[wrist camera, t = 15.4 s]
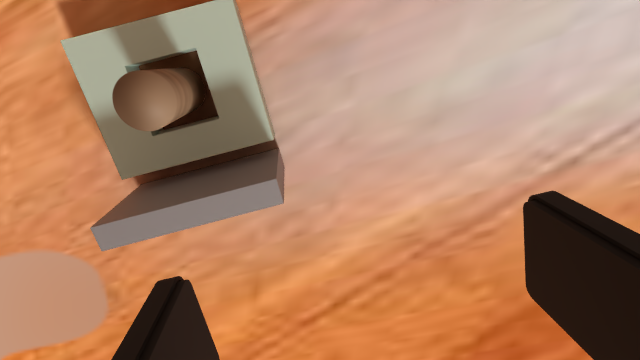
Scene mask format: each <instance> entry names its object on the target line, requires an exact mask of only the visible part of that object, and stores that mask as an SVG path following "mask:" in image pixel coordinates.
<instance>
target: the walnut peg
mask: <svg viewBox="0 0 640 360" xmlns="http://www.w3.org/2000/svg"><path fill="white" fill-rule="evenodd" d="M205 94H206V90H205V85H204V83H203V81H202V79H201V78H200V76H199V75H198V74H197V73H195V72H194V71H192V70H190V69H187V68H166V69H151V70H136V71H131V72H128V73H126V74H124V75H123V76H122V77H121V78H120V79H119V80H118V81H117V82H116V84H115V86H114V89H113V94H112V100H113V105H114V108H115V111H116V113H117V114H118V116H119V117H120V118H121V119H122V120H123V121H124V122H125V123H126V124H127V125H129V126H130V127H132V128H134V129H137V130H140V131H155V130H158V129H160V128H162V127H164V126H166V125H168V124H170V123H172V122H173V121H175V120H177V119H179V118H181V117H183V116H185V115H186V114H188V113H190V112H192V111H194V110H196V109H197V108H199V107H200V106H201V104H202V103H203V101H204V99H205Z"/></svg>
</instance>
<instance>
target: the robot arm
mask: <svg viewBox="0 0 640 360" xmlns="http://www.w3.org/2000/svg"><path fill="white" fill-rule="evenodd" d="M523 216H524V245H525V275H526V288H527V291H528V293H529V295H530V296H531V297H532V299H533V300H534V301H535V302H536V303H537V304H538V305H539V306H540V307H541V308H542V309H543V310H544V311H545V312H546V313H547V314H548V315H549V316H550V317H551V318H552V319H553V320H554V321H555V322H556V323H557V324H558V325H559V326H560V327H561V328H562V329H563V330H564V331H565V332H566V333H567V334H568V335H569V336H570V337H571V338H572V339H573V340H574V341H576V342H577V343H578V344H579V345H580V346H581V347H582V348H583V349H584V350H585V351H586V352H587V353H588V354H589V355H590V356H591V357H592V358H593V359H594V360H640V234H638V233H636V232H634V231H632V230H630V229H628V228H627V227H625V226H623V225H621V224H619V223H617V222H615V221H613V220H611V219H609V218H607V217H605V216H603V215H601V214H599V213H597V212H595V211H593V210H591V209H589V208H587V207H585V206H583V205H581V204H579V203H577V202H575V201H574V200H572V199H570V198H568V197H566V196H564V195H562V194H560V193H558V192H556V191H549V192H545V193H540V194H536V195H532V196H530V197H529V199H528V202H525V203H524V206H523ZM112 360H220V359H219V355H218V352H217V350H216V347H215V345H214V342H213V339H212V337H211V334H210V331H209V329H208V326H207V324H206V321H205V318H204V316H203V313H202V311H201V308H200V305H199V303H198V300H197V298H196V295H195V292H194V290H193V287H192V285H191V282H190V281H189V280H183V278H182V277H180V276H177V277H173V278H169V279H164V280H160V281H158V282H157V283H156V284H155V286H154V288H153V289H152V291H151V293H150V294H149V296H148V298H147V300H146V301H145V303H144V305H143V306H142V308H141V310H140V312H139V313H138V315H137V317H136V318H135V320H134V322H133V324H132V325H131V327H130V329H129V331H128V332H127V334H126V336H125V337H124V339H123V341H122V343H121V344H120V346H119V348H118V349H117V351H116V353H115V355H114V356H113V358H112Z"/></svg>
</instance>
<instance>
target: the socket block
mask: <svg viewBox="0 0 640 360" xmlns="http://www.w3.org/2000/svg"><path fill="white" fill-rule="evenodd" d="M61 43H62V46H63V48H64V50H65V52H66V55H67V57H68V59H69V61H70V64H71V66H72V68H73V70H74V73H75V75H76V77H77V79H78V82H79V84H80V86H81V88H82V91H83V93H84V95H85V97H86V100H87V102H88V104H89V106H90V109H91V111H92V113H93V115H94V118H95V120H96V122H97V124H98V127H99V129H100V131H101V133H102V136H103V138H104V140H105V143H106V145H107V147H108V149H109V152H110V154H111V156H112V158H113V161H114V163H115V165H116V167H117V170H118V172H119V174H120V176H121V179H122V180H123V179H127V178H131V177H135V176H138V175H142V174H146V173H150V172H154V171H157V170H161V169H165V168H169V167H173V166H176V165H180V164H184V163H188V162H192V161H195V160H199V159H203V158H207V157H211V156H214V155H218V154H222V153H226V152H230V151H233V150H237V149H241V148H245V147H249V146H252V145H256V144H260V143H264V142H268V141H271V140H274V135H275V133H274V129H273V126H272V123H271V119H270V116H269V112H268V109H267V105H266V102H265V99H264V95H263V92H262V88H261V85H260V81H259V78H258V75H257V71H256V68H255V64H254V61H253V57H252V54H251V50H250V47H249V44H248V40H247V37H246V33H245V30H244V26H243V23H242V20H241V16H240V13H239V9H238V6H237V2H236V1H235V0H214V1H210V2H206V3H203V4H199V5H195V6H191V7H187V8H183V9H180V10H176V11H172V12H168V13H164V14H160V15H157V16H153V17H149V18H145V19H141V20H138V21H134V22H130V23H126V24H122V25H118V26H115V27H111V28H107V29H103V30H99V31H95V32H92V33H88V34H84V35H80V36H76V37H72V38H69V39H65V40H61ZM193 51H197V53H198V56H199V59H200V62H201V65H202V68H203V71H204V74H205V77H206V80H207V83H208V86H209V89H210V92H211V95H212V98H213V101H214V104H215V107H216V110H217V113H218V116H216V117H212V118H208V119H204V120H200V121H197V122H193V123H189V124H185V125H181V126H178V127H174V128H170V129H166V130H163V128H160V129H158V130H155V131H140V130H137V129H134V128H132V127H130V126H129V125H127V124H126V123H125V122H124V121H123V120H122V119H121V118H120V117H119V116H118V114H117V113H116V111H115V108H114V105H113V100H112V94H113V89H114V86H115V84H116V82H117V81H118V80H119V79H120V78H121V77H122V76H123V75H124V74H126V73H128V72H131V71H136V70H140V69H139V65H143V64H147V63H151V62H155V61H159V60H162V59H166V58H170V57H174V56H178V55H181V54H185V53H189V52H193Z"/></svg>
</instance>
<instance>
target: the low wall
mask: <svg viewBox="0 0 640 360" xmlns="http://www.w3.org/2000/svg"><path fill="white" fill-rule="evenodd" d="M283 203H284V164H283V160H282V157H281V153H280V150H279V148H278V149H274V150H270V151H267V152H263V153H259V154H255V155H251V156H248V157H244V158H240V159H236V160H233V161H229V162H225V163H221V164H217V165H214V166H210V167H206V168H202V169H198V170H195V171H191V172H187V173H183V174H179V175H176V176H172V177H168V178H164V179H160V180H157V181H153V182H149V183H145V184H141V185H140V186H139V187H138V188H136V189H135V190H134V191H133V192H132V193H131V194H129V195H128V196H127V197H126V198H125V199H124V200H122V201H121V202H120V203H119V204H118V205H116V206H115V207H114V208H113V209H112V210H111V211H109V212H108V213H107V214H106V215H105V216H104V217H102V218H101V219H100V220H99V221H98V222H96V223H95V224H94V225H93V226H92V227H91V230H92V232H93V234H94V236H95V239H96V241H97V243H98V245H99V247H100V249H101V251H105V250H109V249H113V248H117V247H120V246H124V245H128V244H132V243H136V242H139V241H143V240H147V239H151V238H155V237H158V236H162V235H166V234H170V233H174V232H177V231H181V230H185V229H189V228H192V227H196V226H200V225H204V224H208V223H211V222H215V221H219V220H223V219H227V218H230V217H234V216H238V215H242V214H245V213H249V212H253V211H257V210H261V209H264V208H268V207H272V206H276V205H280V204H283Z"/></svg>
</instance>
